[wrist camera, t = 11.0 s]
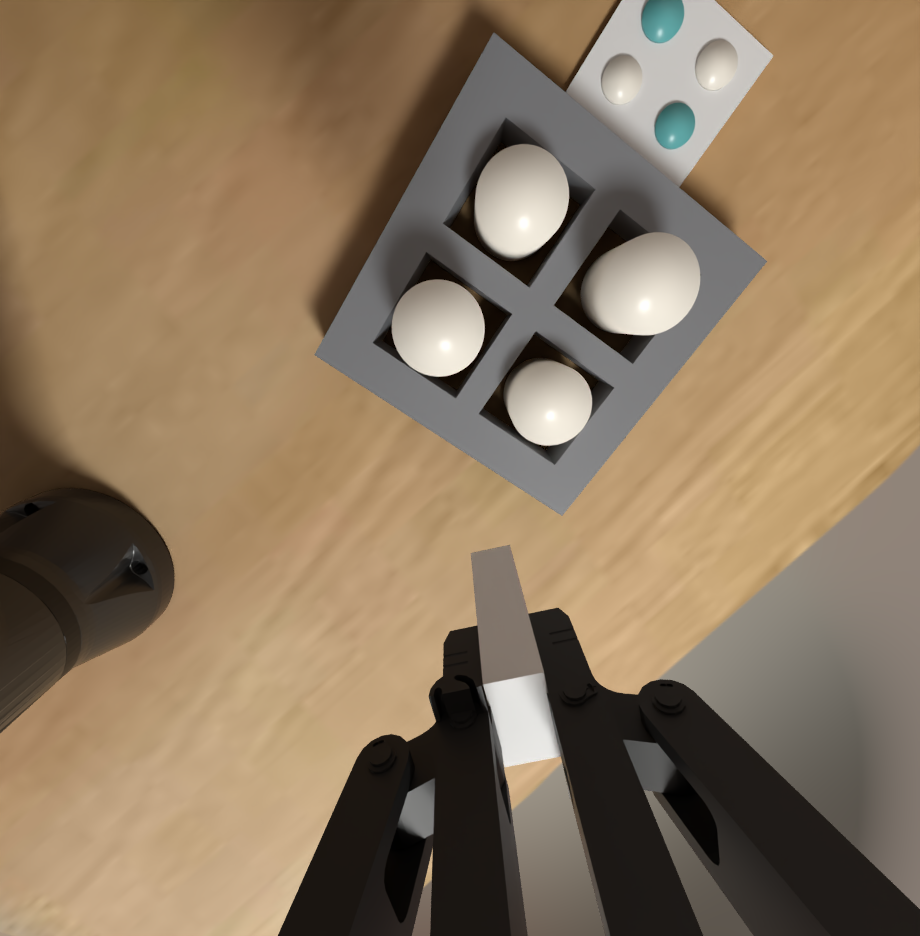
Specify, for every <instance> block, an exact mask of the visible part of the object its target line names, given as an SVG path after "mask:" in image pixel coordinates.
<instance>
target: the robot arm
mask: <svg viewBox="0 0 920 936" xmlns="http://www.w3.org/2000/svg"><path fill="white" fill-rule="evenodd" d="M471 560H472V571H473V582H474V593H475V603H476V614H477V625H478V626H473V627H468V628H463V629H458V630H454V631H450V632H449V634H448V636H447V638H446V640H445V642H444V654H443V656H444V658H443V667H444V668H443V677H442V678H440V679H439V680H437V681H436V682H435V684H434V685H433V686H432V688H431V690H430V693H429V700H430V703H431V706H432V709H433V713H434V716H435V719H436V723H435V724H434V725H433V726H432V727H431V728H430V729H429V730H428V731H426V732H425V733H423V734H421V735H420V736H418V737H416V738H414V739H412V740H410V741H408V742H406V741H405V740H404V739H403V738H402V737H401V736H397V735H393V734H390V735H384V736H381V737H379V738H377V739H375V740H372V741H371V742H370V743H369V744H368V745H367V746H365V747H364V748H363V750H362V751H361V753H360V754H359V756H358V757H357V759H356V762H355V764H354V766H353V768H352V771H351V773H350V775H349V777H348V780H347V782H346V784H345V786H344V789H343V791H342V793H341V795H340V798H339V800H338V802H337V804H336V806H335V809H334V811H333V813H332V815H331V818H330V820H329V822H328V824H327V827H326V829H325V831H324V833H323V836H322V838H321V840H320V842H319V845H318V847H317V849H316V851H315V854H314V856H313V858H312V860H311V863H310V865H309V867H308V869H307V872H306V874H305V876H304V878H303V880H302V883H301V885H300V887H299V889H298V892H297V894H296V896H295V898H294V901H293V903H292V905H291V907H290V910H289V912H288V914H287V916H286V919H285V921H284V923H283V925H282V928H281V930H280V932H279V934H278V936H412V932H413V928H414V924H415V920H416V915H417V911H418V907H419V903H420V898H421V894H422V890H423V886H424V882H425V877H426V873H427V869H428V865H429V861H430V856H431V852H432V848H433V862H432V896H431V932H430V936H528V935H527V927H526V919H525V911H524V905H523V897H522V888H521V881H520V873H519V865H518V857H517V850H516V842H515V835H514V827H513V819H512V811H511V803H510V795H509V788H508V784H507V780H506V777H505V772H504V766H505V767H508V766H513V765H518V764H524V763H529V762H534V761H539V760H545V759H550V758H555V757H560V756H561V759H562V763H563V768H564V772H565V776H566V782H567V786H568V791H569V796H570V799H571V801H572V805H573V809H574V813H575V817H576V821H577V825H578V829H579V833H580V836H581V841H582V844H583V849H584V853H585V857H586V860H587V865H588V869H589V873H590V876H591V881H592V885H593V888H594V893H595V896H596V901H597V904H598V908H599V912H600V916H601V920H602V924H603V928H604V932H605V936H703V934H702V932H701V929H700V927H699V924H698V922H697V919H696V917H695V914H694V912H693V910H692V907H691V905H690V902H689V900H688V897H687V895H686V893H685V890H684V888H683V885H682V883H681V880H680V878H679V875H678V873H677V871H676V868H675V866H674V863H673V861H672V858H671V856H670V854H669V851H668V849H667V846H666V844H665V842H664V839H663V836H662V834H661V832H660V829H659V827H658V824H657V822H656V819H655V817H654V815H653V812H652V810H651V807H650V805H649V802H648V800H647V798H646V795H645V793H644V790H648V791H653V793H654V795H655V797H656V798H657V800H658V801H659V803H660V804H661V805H662V807H663V808H664V810H665V811H666V812H667V814H668V815H669V817H670V818H671V820H672V821H673V822H674V824H675V825H676V827H677V828H678V829H679V831H680V832H681V834H682V835H683V836H684V838H685V839H686V841H687V842H688V844H689V845H690V846H691V847H692V849H693V851H694V852H695V853H696V855H697V856H698V858H699V859H700V860H701V862H702V863H703V865H704V866H705V868H706V869H707V870H708V872H709V873H710V874H711V876H712V877H713V879H714V880H715V881H716V883H717V884H718V886H719V887H720V889H721V890H722V891H723V893H724V894H725V896H726V897H727V899H728V900H729V901H730V903H731V904H732V906H733V907H734V909H735V910H736V911H737V913H738V914H739V916H740V917H741V918H742V920H743V921H744V923H745V924H746V925H747V927H748V928H749V930H750V931H751V933H752V934H753V935H754V936H920V909H919V908H918V907H917V906H916V905H915V904H914V903H913V902H911V900H909V899H908V898H907V897H906V896H905V895H904V894H903V893H902V892H901V891H900V890H899V889H898V888H897V887H896V886H895V885H894V884H893V883H892V882H891V881H890V880H889V879H888V878H887V877H886V876H884V875H883V873H882V872H880V871H879V870H878V869H877V868H876V867H875V866H874V865H873V864H872V863H871V862H870V861H869V860H868V859H867V858H866V857H865V856H864V855H863V854H862V853H861V852H860V851H859V850H858V849H856V848H855V847H854V845H852V844H851V843H850V842H849V841H848V840H847V839H846V838H845V837H844V836H843V835H842V834H841V833H840V832H839V831H838V830H837V829H836V828H835V827H834V826H833V825H832V824H831V823H830V822H829V821H827V820H826V818H824V817H823V816H822V815H821V814H820V813H819V812H818V811H817V810H816V809H815V808H814V807H813V806H812V805H811V804H810V803H809V802H808V801H807V800H806V799H805V798H804V797H803V796H802V795H800V793H799V792H798V791H796V790H795V789H794V788H793V787H792V786H791V785H790V784H789V783H788V782H787V781H786V780H785V779H784V778H783V777H782V776H781V775H780V774H779V773H778V772H777V771H776V770H775V769H774V768H773V767H772V766H770V764H768V763H767V762H766V761H765V760H764V759H763V758H762V757H761V756H760V755H759V754H758V753H757V752H756V751H755V750H754V749H753V748H752V747H751V746H750V745H749V744H748V743H747V742H746V741H744V739H742V737H740V736H739V735H738V734H737V733H736V732H735V731H734V730H733V729H732V728H731V727H730V726H729V725H728V724H727V723H726V722H725V721H724V720H723V719H722V718H721V717H720V716H719V715H718V714H717V713H716V712H714V710H712V709H711V708H710V707H709V706H708V705H707V704H706V703H705V702H704V701H703V700H702V699H701V698H700V697H699V696H698V695H697V694H696V693H695V692H694V691H693V690H691V689H690V688H688V687H687V686H686V685H684V684H681V683H679V682H676V681H673V680H661V679H660V680H656V681H652V682H649V683H648V684H646V685H645V686H643V687H642V689H641V691H640V692H639V694H638V695H635V694H623V693H617V692H614V691H611V690H608V689H606V688H605V687H603V686H601V685H600V684H599V683H598V682H597V681H596V680H595V678H594V677H593V675H592V673H591V670H590V668H589V666H588V663H587V661H586V658H585V656H584V653H583V651H582V648H581V646H580V643H579V641H578V639H577V636H576V633H575V631H574V629H573V626H572V623H571V621H570V618H569V616H568V615H566V614H565V613H564V612H563V611H562V610H560V609H559V608H554V609H550V610H545V611H540V612H535V613H530V614H528V611H527V607H526V603H525V600H524V596H523V592H522V589H521V585H520V581H519V577H518V574H517V570H516V566H515V563H514V559H513V555H512V551H511V548H510V545H507V546H502V547H497V548H493V549H488V550H483V551H479V552H474V553H471ZM173 589H174V570H173V565H172V561H171V558H170V555H169V553H168V550H167V548H166V546H165V544H164V543H163V541H162V539H161V538H160V536H159V535H158V534H157V532H156V531H155V530H154V529H153V527H152V526H151V525H150V524H149V523H148V522H147V521H146V520H145V519H144V518H143V517H142V516H140V515H139V514H138V513H137V512H135V511H134V510H133V509H131V508H130V507H128V506H127V505H125V504H123V503H122V502H120V501H118V500H116V499H114V498H111V497H109V496H107V495H104V494H101V493H98V492H94V491H90V490H84V489H75V488H64V489H55V490H50V491H47V492H44V493H41V494H38V495H36V496H33V497H31V498H28V499H26V500H24V501H21V502H19V503H17V504H15V505H13V506H11V507H10V508H8V509H6V510H5V511H4V512H2V513H1V514H0V733H1V732H2V731H3V730H5V729H6V728H7V727H8V726H9V725H10V724H11V723H12V722H13V721H14V720H16V719H17V718H18V717H19V716H20V715H21V714H22V713H23V712H24V711H25V710H27V709H28V708H29V707H30V706H31V705H32V704H33V703H34V702H35V701H36V700H38V699H39V698H40V697H41V696H42V695H43V694H44V693H45V692H46V691H48V690H49V689H50V688H51V687H52V686H53V685H54V684H55V683H56V682H57V681H58V680H60V679H61V678H62V677H63V676H64V675H65V674H66V673H68V672H69V671H70V670H71V669H72V668H74V667H76V666H78V665H81V664H83V663H85V662H87V661H89V660H91V659H93V658H95V657H98V656H100V655H102V654H104V653H106V652H108V651H110V650H112V649H115V648H117V647H119V646H121V645H123V644H125V643H127V642H129V641H131V640H133V639H134V638H136V637H137V636H139V635H140V634H141V633H143V632H144V631H145V630H146V629H147V628H148V627H149V626H150V625H151V624H152V623H153V622H154V621H155V620H157V619H158V618H159V617H160V616H161V614H162V613H163V612H164V611H165V609H166V608H167V606H168V604H169V602H170V600H171V597H172V593H173ZM503 762H504V764H503Z"/></svg>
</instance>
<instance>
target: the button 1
mask: <svg viewBox="0 0 920 936" xmlns="http://www.w3.org/2000/svg"><path fill="white" fill-rule="evenodd" d="M484 333H485V325H484V318H483V314H482V311H481V309H480V306H479V305H478V303H477V301H476V300H475V298H474V297H473V296H472V295H471V294H470V293H469V292H468V291H467V290H466V289H465V288H463V287H462V286H460V285H458V284H456V283H454V282H451V281H447V280H428V281H424V282H421V283H419V284H417V285H415V286H414V287H412V288H411V289H410V290H408V291H407V292H406V293H405V294H404V295H403V296H402V298H401V299H400V301H399V302H398V304H397V306H396V308H395V311H394V314H393V319H392V335H393V340H394V344H395V346H396V349H397V351H398V352H399V354H400V356H401V357H402V358H403V360H404V361H405V362H406V363H407V364H408V365H409V366H411V367H412V368H413V369H415V370H416V371H418V372H420V373H423V374H426V375H429V376H441V377H442V376H448V375H452V374H455V373H457V372H459V371H461V370H463V369H464V368H466V367H467V366H468V365H469V364H470V363H471V362H472V361H473V360H474V359H475V357H476V356H477V354H478V353H479V351H480V349H481V346H482V343H483V339H484Z"/></svg>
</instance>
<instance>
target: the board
mask: <svg viewBox="0 0 920 936" xmlns="http://www.w3.org/2000/svg"><path fill="white" fill-rule="evenodd" d="M500 142H502V143H503V144H504V145H506V146H507V147H510V146H514V145H519V144H530V145H535V146H538V147H541V148H543V149H545V150H546V151H548V152H549V153H551V154H552V155H553V156H554V157H555V158H556V159H557V161H558V162H559V163H560V165H561V166H562V168H563V170H564V172H565V175H566V178H567V181H568V187H569V196H570V197H571V198H573V199H574V200H575V201H576V202H578V203H579V204H580V206H579V208H578V209H577V211H576V212H575V214H574V216H573V217H572V219H571V220H570V222H569V223H568V225H567V226H566V228H565V229H564V231H563V232H562V234H561V235H560V237H559V238H558V240H557V241H556V243H555V244H554V246H553V247H552V249H551V250H550V252H549V253H548V255H547V256H546V258H545V259H544V261H543V262H542V264H541V265H540V267H539V268H538V270H537V271H536V273H535V274H534V276H533V277H532V279H531V280H530V282H529V283H528V285H525V284H524V283H523V282H521V281H520V280H519V279H517V278H516V277H514V276H513V275H512V274H510V273H509V272H508V271H506V270H505V269H504V268H502V267H501V266H500V265H498V264H497V263H496V262H494V261H493V260H491V259H490V258H489V257H487V256H486V255H485V254H483V253H482V252H481V251H479V250H478V249H477V248H475V247H474V246H473V245H471V244H470V243H468V242H467V241H466V240H464V239H463V238H462V237H460V236H459V235H458V234H456V233H455V232H454V231H452V230H451V229H450V226H451V225H452V223H453V221H454V220H455V218H456V216H457V215H458V213H459V211H460V210H461V208H462V206H463V204H464V203H465V201H466V199H467V198H468V196H469V194H470V193H471V191H472V189H473V188H474V186H475V184H476V183H477V181H478V179H479V178H480V175H481V173H482V171H483V169H484V168H485V166H486V165H487V163H488V162H489V161H490V159H491V157H492V156H493V154H494V152H495V151H496V149H497V147H498V146H499V144H500ZM607 227H609V228H610V229H612V230H613V231H614V232H615V233H617V234H618V235H619V236H620V237H622V238H623V239H624V240H626V241H627V242H628V241H630V240H632V239H634V238H636V237H638V236H641V235H643V234H647V233H653V232H663V233H669V234H672V235H675V236H677V237H679V238H680V239H682V240H683V241H685V242H686V243H687V244H688V245H689V246H690V248H691V249H692V250H693V252H694V254H695V256H696V258H697V260H698V263H699V268H700V287H699V291H698V295H697V298H696V300H695V302H694V304H693V306H692V308H691V309H690V311H689V312H688V314H687V315H686V316H685V317H684V318H683V319H682V320H681V321H680V322H679V323H678V324H676V325H675V326H674V327H672V328H670V329H668V330H667V331H664V332H662V333H658V334H654V335H633V337H632V338H631V339H630V341H629V342H628V343H627V345H626V346H625V347H624V349H623V350H622V351H621V353H620V354H619V353H617V352H616V351H615V350H613V349H612V348H610V347H609V346H608V345H606V344H605V343H604V342H602V341H601V340H600V339H598V338H597V337H596V336H594V335H593V334H592V333H590V332H589V331H587V330H586V329H585V328H583V327H582V326H581V325H579V324H578V323H577V322H575V321H574V320H573V319H571V318H570V317H569V316H567V315H566V314H564V313H563V312H562V311H560V310H559V309H558V308H556V307H555V306H554V304H555V303H556V301H557V300H558V298H559V297H560V295H561V294H562V292H563V291H564V290H565V288H566V287H567V285H568V284H569V282H570V281H571V279H572V278H573V277H574V275H575V274H576V272H577V271H578V269H579V268H580V266H581V265H582V264H583V262H584V261H585V259H586V258H587V256H588V255H589V253H590V252H591V251H592V249H593V248H594V246H595V245H596V243H597V242H598V240H599V239H600V238H601V236H602V235H603V233H604V232H605V230H606V229H607ZM430 260H432V261H433V262H435V263H436V264H438V265H439V266H440V267H442V268H443V269H444V270H446V271H447V272H449V273H450V274H451V275H453V276H454V277H456V278H457V279H458V280H460V281H461V282H463V283H464V284H465V285H467V286H468V287H469V288H471V289H472V290H474V291H475V292H476V293H478V294H479V295H481V296H482V297H483V298H485V299H486V300H488V301H489V302H490V303H492V304H493V305H494V306H496V307H497V308H499V309H500V310H501V311H503V312H504V313H506V314H507V316H506V318H505V319H504V321H503V322H502V324H501V325H500V327H499V328H498V330H497V331H496V333H495V334H494V336H493V337H492V339H491V340H490V342H489V343H488V345H487V346H486V348H485V349H484V351H483V352H482V354H481V355H480V357H479V358H478V360H477V361H476V363H475V364H474V366H473V367H472V369H471V370H470V372H469V373H468V375H467V376H466V378H465V379H464V381H463V382H462V384H461V385H460V387H459V388H458V390H457V391H456V390H455V389H453V388H452V387H450V386H449V385H448V384H446V383H445V382H443V381H442V380H440V379H439V378H437V377H436V376H429V375H426V374H423V373H420V372H418V371H416V370H415V369H413V368H412V367H411V366H409V365H408V364H407V363H406V362H405V361H404V360H403V358H402V357H401V356H400V354H399V352H398V351H397V350H396V349H394V348H393V347H391V346H390V345H388V344H387V343H385V342H384V341H383V339H384V337H385V336H386V334H387V332H388V330H389V329H390V327H391V325H392V319H393V314H394V311H395V308H396V306H397V304H398V302H399V301H400V299H401V298H402V296H403V295H404V294H405V293H406V292H407V291H408V290H410V289H411V288H412V287H414V286H415V285H416V283H417V282H418V280H419V278H420V277H421V275H422V273H423V272H424V270H425V268H426V267H427V265H428V263H429V262H430ZM766 262H767V261H766V260H765V259H764V258H763V257H762V256H760V255H759V254H758V253H757V252H756V251H754V250H753V249H752V248H751V247H750V246H748V245H747V244H746V243H745V242H744V241H742V240H741V239H740V238H739V237H738V236H736V235H735V234H734V233H733V232H732V231H731V230H729V229H728V228H727V227H726V226H725V225H723V224H722V223H721V222H720V221H719V220H717V219H716V218H715V217H714V216H713V215H711V214H710V213H709V212H708V211H707V210H705V209H704V208H703V207H702V206H701V205H699V204H698V203H697V202H696V201H695V200H693V199H692V198H691V197H690V196H689V195H688V194H686V193H685V192H684V191H683V190H682V189H680V188H679V187H678V186H677V185H676V184H674V183H673V182H672V181H671V180H670V179H668V178H667V177H666V176H665V175H664V174H662V173H661V172H660V171H659V170H658V169H656V168H655V167H654V166H653V165H652V164H650V163H649V162H648V161H647V160H646V159H645V158H643V157H642V156H641V155H640V154H639V153H637V152H636V151H635V150H634V149H633V148H631V147H630V146H629V145H628V144H627V143H625V142H624V141H623V140H622V139H621V138H619V137H618V136H617V135H616V134H615V133H613V132H612V131H611V130H610V129H609V128H607V127H606V126H605V125H604V124H603V123H602V122H600V121H599V120H598V119H597V118H596V117H594V116H593V115H592V114H591V113H590V112H588V111H587V110H586V109H585V108H584V107H582V106H581V105H580V104H579V103H578V102H576V101H575V100H574V99H573V98H572V97H570V96H569V95H568V94H567V93H566V92H565V91H563V90H562V89H561V88H560V87H559V86H557V85H556V84H555V83H554V82H553V81H551V80H550V79H549V78H548V77H547V76H545V75H544V74H543V73H542V72H541V71H539V70H538V69H537V68H536V67H535V66H533V65H532V64H531V63H530V62H529V61H527V60H526V59H525V58H524V57H523V56H522V55H520V54H519V53H518V52H517V51H516V50H514V49H513V48H512V47H511V46H510V45H508V44H507V43H506V42H505V41H504V40H502V39H501V38H500V37H499V36H498V35H496V34H495V33H493V35H492V36H491V38H490V40H489V42H488V44H487V45H486V47H485V49H484V51H483V53H482V54H481V56H480V58H479V60H478V62H477V63H476V65H475V67H474V69H473V71H472V72H471V74H470V76H469V78H468V79H467V81H466V83H465V85H464V87H463V88H462V90H461V92H460V94H459V96H458V97H457V99H456V101H455V103H454V105H453V106H452V108H451V110H450V112H449V114H448V115H447V117H446V119H445V121H444V123H443V124H442V126H441V128H440V130H439V132H438V133H437V135H436V137H435V139H434V141H433V142H432V144H431V146H430V148H429V150H428V151H427V153H426V155H425V157H424V159H423V160H422V162H421V164H420V166H419V168H418V169H417V171H416V173H415V175H414V177H413V178H412V180H411V182H410V184H409V186H408V187H407V189H406V191H405V193H404V195H403V196H402V198H401V200H400V202H399V204H398V205H397V207H396V209H395V211H394V213H393V214H392V216H391V218H390V220H389V222H388V223H387V225H386V227H385V229H384V231H383V232H382V234H381V236H380V238H379V240H378V241H377V243H376V245H375V247H374V249H373V250H372V252H371V254H370V256H369V258H368V259H367V261H366V263H365V265H364V267H363V268H362V270H361V272H360V274H359V276H358V277H357V279H356V281H355V283H354V285H353V286H352V288H351V290H350V292H349V294H348V295H347V297H346V299H345V301H344V303H343V304H342V306H341V308H340V310H339V312H338V313H337V315H336V317H335V319H334V321H333V322H332V324H331V326H330V328H329V330H328V331H327V333H326V335H325V337H324V339H323V340H322V342H321V344H320V346H319V348H318V349H317V351H316V353H315V356H317V357H318V358H320V359H321V360H323V361H325V362H326V363H328V364H329V365H331V366H332V367H334V368H335V369H337V370H338V371H340V372H341V373H343V374H345V375H346V376H348V377H349V378H351V379H352V380H354V381H355V382H357V383H358V384H360V385H361V386H363V387H365V388H366V389H368V390H369V391H371V392H372V393H374V394H375V395H377V396H378V397H380V398H382V399H383V400H385V401H386V402H388V403H389V404H391V405H392V406H394V407H395V408H397V409H398V410H400V411H402V412H403V413H405V414H406V415H408V416H409V417H411V418H412V419H414V420H415V421H417V422H418V423H420V424H422V425H423V426H425V427H426V428H428V429H429V430H431V431H432V432H434V433H435V434H437V435H438V436H440V437H442V438H443V439H445V440H446V441H448V442H449V443H451V444H452V445H454V446H455V447H457V448H458V449H460V450H462V451H463V452H465V453H466V454H468V455H469V456H471V457H472V458H474V459H475V460H477V461H478V462H480V463H482V464H483V465H485V466H486V467H488V468H489V469H491V470H492V471H494V472H495V473H497V474H498V475H500V476H502V477H503V478H505V479H506V480H508V481H509V482H511V483H512V484H514V485H515V486H517V487H518V488H520V489H522V490H523V491H525V492H526V493H528V494H529V495H531V496H532V497H534V498H535V499H537V500H538V501H540V502H542V503H543V504H545V505H546V506H548V507H549V508H551V509H552V510H554V511H555V512H557V513H558V514H560V515H563V514H564V513H565V512H566V510H567V509H568V508H569V507H570V505H571V504H572V503H573V502H574V500H575V499H576V498H577V497H578V495H579V494H580V493H581V492H582V490H583V489H584V488H585V487H586V485H587V484H588V483H589V482H590V481H591V479H592V478H593V477H594V476H595V474H596V473H597V472H598V471H599V469H600V468H601V467H602V466H603V464H604V463H605V462H606V461H607V459H608V458H609V457H610V456H611V454H612V453H613V452H614V451H615V449H616V448H617V447H618V446H619V445H620V443H621V442H622V441H623V440H624V438H625V437H626V436H627V435H628V433H629V432H630V431H631V430H632V428H633V427H634V426H635V425H636V423H637V422H638V421H639V420H640V418H641V417H642V416H643V415H644V413H645V412H646V411H647V410H648V409H649V407H650V406H651V405H652V404H653V402H654V401H655V400H656V399H657V397H658V396H659V395H660V394H661V392H662V391H663V390H664V389H665V387H666V386H667V385H668V384H669V382H670V381H671V380H672V379H673V377H674V376H675V375H676V374H677V373H678V371H679V370H680V369H681V368H682V366H683V365H684V364H685V363H686V361H687V360H688V359H689V358H690V356H691V355H692V354H693V353H694V351H695V350H696V349H697V348H698V346H699V345H700V344H701V343H702V342H703V340H704V339H705V338H706V337H707V335H708V334H709V333H710V332H711V330H712V329H713V328H714V327H715V325H716V324H717V323H718V322H719V320H720V319H721V318H722V317H723V315H724V314H725V313H726V312H727V310H728V309H729V308H730V307H731V306H732V304H733V303H734V302H735V301H736V299H737V298H738V297H739V296H740V294H741V293H742V292H743V291H744V289H745V288H746V287H747V286H748V284H749V283H750V282H751V281H752V279H753V278H754V277H755V276H756V274H757V273H758V272H759V271H760V270H761V268H762V267H763V266H764V265H765V263H766ZM533 334H535V335H536V336H537V337H539V338H540V339H542V340H543V341H544V342H546V343H547V344H549V345H550V346H551V347H553V348H554V349H555V350H557V351H558V352H560V353H561V354H562V355H564V356H565V357H567V358H568V359H569V360H571V361H572V362H574V363H575V364H576V365H578V366H579V367H580V368H582V369H583V370H585V371H586V372H587V373H589V374H590V375H592V376H593V377H594V378H596V379H597V380H598V381H599V382H598V383H597V384H596V386H595V387H594V388H593V389H592V391H591V396H592V409H591V414H590V417H589V419H588V421H587V423H586V425H585V426H584V428H583V429H582V430H581V431H580V432H579V433H578V434H577V435H576V436H575V437H573V438H572V439H570V440H568V441H567V442H564V443H562V444H558V445H550V446H549V448H548V449H547V450H546V451H545V450H544V449H543V448H541V447H540V446H538V445H537V444H535V443H533V442H531V441H529V440H527V439H526V438H525V437H523V436H522V435H521V434H520V433H519V432H517V431H516V430H514V429H513V428H511V427H510V426H508V425H507V424H505V423H504V422H502V421H501V420H499V419H498V418H496V417H495V416H494V415H492V414H491V413H489V412H488V411H486V410H485V409H483V407H484V405H485V404H486V402H487V401H488V400H489V398H490V397H491V395H492V394H493V392H494V391H495V389H496V388H497V386H498V385H499V384H500V382H501V381H502V379H503V378H504V376H505V375H506V373H507V372H508V371H509V369H510V368H511V366H512V365H513V363H514V362H515V360H516V359H517V358H518V356H519V355H520V353H521V352H522V350H523V349H524V347H525V346H526V345H527V343H528V342H529V340H530V339H531V337H532V336H533Z"/></svg>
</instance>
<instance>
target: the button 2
mask: <svg viewBox="0 0 920 936" xmlns="http://www.w3.org/2000/svg"><path fill="white" fill-rule="evenodd" d="M568 203H569V187H568V181H567V178H566V175H565V172H564V170H563V168H562V166H561V165H560V163H559V162H558V161H557V159H556V158H555V157H554V156H553V155H552V154H551V153H549V152H548V151H546V150H545V149H543V148H541V147H538V146H535V145H530V144H519V145H514V146H510V147H508V148H506V149H503V150H502V151H500V152H499V153H497V154H496V155H495V156H494V157H493V158H492V159H491V160H490V161H489V162H488V163H487V165H486V166H485V168H484V169H483V171H482V173H481V175H480V178H479V180H478V184H477V188H476V195H475V208H474V227H475V231H476V235H477V237H478V239H479V241H480V243H481V245H482V246H483V247H484V248H485V250H486V251H487V252H489V253H490V254H491V255H493V256H494V257H496V258H498V259H501V260H505V261H518V260H522V259H525V258H527V257H529V256H531V255H533V254H534V253H535V252H536V251H538V250H539V249H540V248H541V247H542V246H543V245H544V244H545V243H546V242H547V241H548V240H549V239H550V238H551V237H552V236H553V235H554V234H555V233H556V231H557V230H558V229H559V227H560V225H561V224H562V222H563V220H564V217H565V215H566V212H567V208H568Z"/></svg>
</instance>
